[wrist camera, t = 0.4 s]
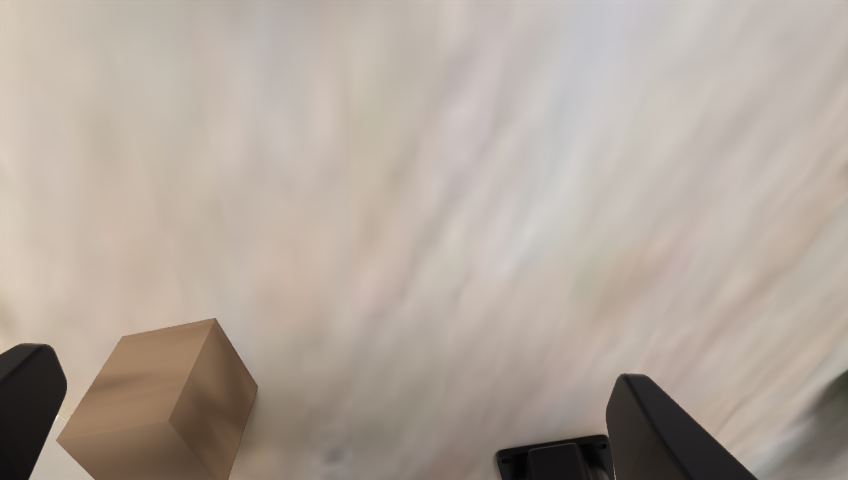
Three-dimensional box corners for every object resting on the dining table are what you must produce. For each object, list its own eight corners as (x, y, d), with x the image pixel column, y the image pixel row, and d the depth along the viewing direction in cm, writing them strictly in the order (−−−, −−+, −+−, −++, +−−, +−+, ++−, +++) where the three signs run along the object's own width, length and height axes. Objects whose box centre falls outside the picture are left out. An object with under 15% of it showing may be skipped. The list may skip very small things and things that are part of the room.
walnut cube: (257, 386, 29) (224, 492, 24) (172, 401, 30) (122, 507, 25) (215, 317, 27) (167, 420, 22) (122, 336, 27) (55, 440, 22)
